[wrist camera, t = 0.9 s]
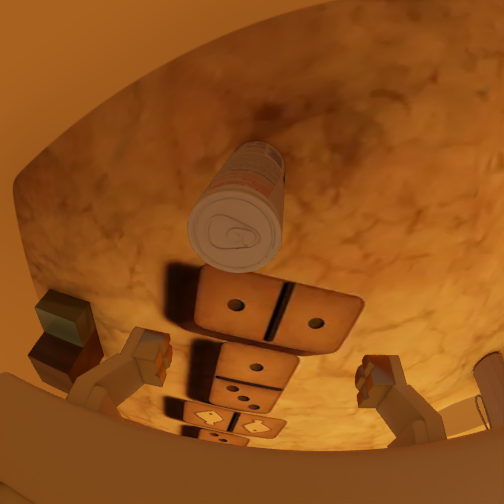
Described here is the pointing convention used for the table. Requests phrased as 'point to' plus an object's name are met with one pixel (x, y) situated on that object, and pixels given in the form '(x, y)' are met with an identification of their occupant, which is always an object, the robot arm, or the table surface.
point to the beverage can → (241, 211)
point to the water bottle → (491, 388)
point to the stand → (65, 340)
